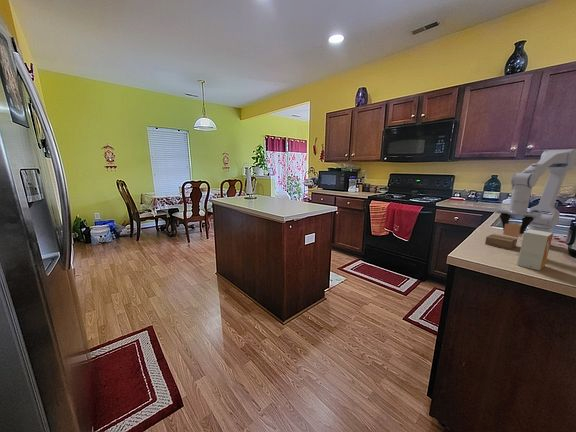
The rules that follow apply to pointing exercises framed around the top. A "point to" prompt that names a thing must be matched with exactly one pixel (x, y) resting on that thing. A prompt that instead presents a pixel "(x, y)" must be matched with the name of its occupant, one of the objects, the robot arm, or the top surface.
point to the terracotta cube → (512, 229)
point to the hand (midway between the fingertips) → (513, 231)
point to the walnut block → (501, 241)
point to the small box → (534, 249)
